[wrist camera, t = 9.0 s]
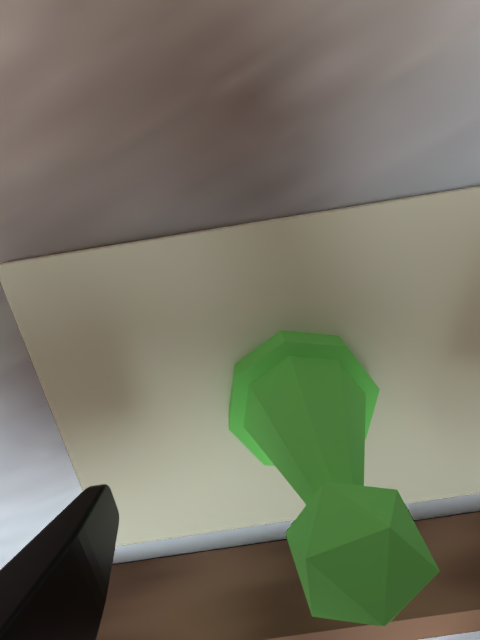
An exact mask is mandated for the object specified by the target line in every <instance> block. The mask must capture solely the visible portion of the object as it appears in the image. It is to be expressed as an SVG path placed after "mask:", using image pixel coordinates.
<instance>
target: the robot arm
mask: <svg viewBox="0 0 480 640" xmlns="http://www.w3.org/2000/svg"><path fill="white" fill-rule="evenodd" d="M118 527H119V511H118V508H117V505H116V503H115V500H114V497H113V494H112V491H111V489H110V487H109V486H108V485H107V484H101V485H94V486H90V487H88V488H86V489H85V490H84V491H83V492H82V493H81V494H80V495H79V496H78V497H77V498H76V499H75V500H73V501H72V502H71V503H70V504H69V505H68V506H67V507H66V508H65V509H64V510H63V511H62V512H61V513H60V514H59V515H58V516H57V517H56V518H55V519H54V520H52V521H51V522H50V523H49V524H48V525H47V526H46V527H45V528H44V529H43V530H42V531H41V532H40V533H39V534H38V535H37V536H36V537H35V538H34V539H33V540H31V541H30V542H29V543H28V544H27V545H26V546H25V547H24V548H23V549H22V550H21V551H20V552H19V553H18V554H17V555H16V556H15V557H14V558H13V559H12V560H10V561H9V562H8V563H7V564H6V565H5V566H4V567H3V568H2V569H1V570H0V640H96V638H97V634H98V630H99V627H100V623H101V619H102V615H103V611H104V607H105V603H106V598H107V592H108V587H109V581H110V575H111V569H112V563H113V557H114V551H115V545H116V539H117V533H118Z"/></svg>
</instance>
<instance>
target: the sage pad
mask: <svg viewBox="0 0 480 640" xmlns="http://www.w3.org/2000/svg"><path fill="white" fill-rule="evenodd" d="M0 282H1V285H2V288H3V290H4V293H5V295H6V298H7V300H8V303H9V305H10V308H11V310H12V313H13V315H14V318H15V320H16V323H17V326H18V328H19V331H20V333H21V336H22V338H23V341H24V343H25V346H26V348H27V351H28V353H29V356H30V358H31V361H32V364H33V366H34V369H35V371H36V374H37V376H38V379H39V381H40V384H41V386H42V389H43V391H44V394H45V397H46V399H47V402H48V404H49V407H50V409H51V412H52V414H53V417H54V419H55V422H56V424H57V427H58V429H59V432H60V435H61V437H62V440H63V442H64V445H65V447H66V450H67V452H68V455H69V457H70V460H71V462H72V465H73V467H74V470H75V473H76V475H77V478H78V480H79V483H80V485H81V488H82V490H83V491H84V490H85V489H86V488H88V487H90V486H94V485H101V484H107V485H108V486H109V487H110V489H111V491H112V494H113V497H114V500H115V503H116V505H117V508H118V511H119V527H118V533H117V539H116V545H115V547H116V546H123V545H129V544H136V543H143V542H150V541H157V540H164V539H171V538H177V537H184V536H191V535H198V534H205V533H212V532H219V531H225V530H232V529H239V528H246V527H253V526H260V525H267V524H273V523H280V522H287V521H294V520H295V519H296V518H297V517H298V515H299V514H300V513H301V511H302V510H303V509H304V507H305V506H306V504H305V503H304V501H303V500H302V499H301V498H300V496H299V495H298V494H297V493H296V491H295V490H294V489H293V488H292V486H291V485H290V484H289V483H288V481H287V480H286V479H285V478H284V476H283V475H282V474H281V473H280V471H279V470H278V469H277V468H276V466H267V465H263V464H262V463H261V462H260V461H259V460H258V459H257V458H256V457H255V456H254V455H253V454H252V453H251V452H250V451H249V450H248V448H247V447H246V446H245V445H244V444H243V443H242V442H241V441H240V440H239V439H238V438H237V437H236V436H235V435H234V434H233V433H232V432H231V431H230V430H229V420H228V413H229V405H230V396H231V388H232V379H233V371H234V364H235V363H237V362H238V361H239V360H241V359H242V358H244V357H245V356H246V355H248V354H249V353H250V352H252V351H253V350H254V349H256V348H257V347H258V346H260V345H261V344H263V343H264V342H265V341H267V340H268V339H269V338H271V337H272V336H273V335H275V334H276V333H278V332H279V331H280V330H284V331H295V332H306V333H317V334H328V335H338V336H339V337H340V338H341V339H342V340H343V342H344V343H345V344H346V345H347V347H348V348H349V349H350V351H351V352H352V353H353V355H354V356H355V357H356V359H357V360H358V361H359V363H360V364H361V365H362V366H363V368H364V369H365V370H366V372H367V373H368V374H369V376H370V377H371V378H372V380H373V381H374V382H375V384H376V385H377V386H378V388H379V389H380V391H379V394H378V398H377V401H376V405H375V409H374V412H373V416H372V419H371V423H370V427H369V430H368V434H367V437H366V439H365V459H364V486H370V487H379V488H387V489H396V490H398V492H399V494H400V496H401V497H402V499H403V501H404V503H405V504H410V503H417V502H424V501H431V500H438V499H445V498H452V497H458V496H465V495H472V494H479V493H480V186H475V187H469V188H463V189H457V190H451V191H444V192H438V193H432V194H426V195H420V196H413V197H407V198H401V199H395V200H389V201H382V202H376V203H370V204H364V205H358V206H351V207H345V208H339V209H333V210H327V211H321V212H314V213H308V214H302V215H296V216H290V217H283V218H277V219H271V220H265V221H259V222H252V223H246V224H240V225H234V226H228V227H221V228H215V229H209V230H203V231H197V232H190V233H184V234H178V235H172V236H166V237H159V238H153V239H147V240H141V241H135V242H128V243H122V244H116V245H110V246H104V247H97V248H91V249H85V250H79V251H73V252H66V253H60V254H54V255H48V256H42V257H35V258H29V259H23V260H17V261H11V262H5V263H2V264H0Z"/></svg>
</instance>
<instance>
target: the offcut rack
mask: <svg viewBox="0 0 480 640" xmlns="http://www.w3.org/2000/svg"><path fill="white" fill-rule="evenodd" d="M414 522H415V524H416V526H417V528H418V530H419V532H420V534H421V536H422V538H423V540H424V542H425V544H426V545H427V547H428V549H429V551H430V553H431V555H432V557H433V559H434V561H435V563H436V565H437V567H438V568H439V570H440V572H439V573H438V574H437V575H436V576H435V577H434V578H433V579H432V580H431V581H430V582H429V583H428V584H427V585H426V586H425V587H424V588H423V589H422V590H421V591H420V592H419V593H418V594H417V595H416V596H415V597H414V598H413V599H412V600H411V601H410V602H409V603H408V604H407V605H406V606H405V607H404V608H403V610H402V611H401V612H400V613H399V614H398V615H397V616H396V617H395V618H394V619H393V620H392V621H391V622H390V623H388V624H387V625H385V626H384V627H383V626H376V625H369V624H361V623H354V622H347V621H340V620H333V619H325V618H318V617H312V615H311V612H310V609H309V606H308V603H307V600H306V596H305V593H304V590H303V587H302V584H301V581H300V578H299V575H298V572H297V568H296V565H295V562H294V559H293V556H292V553H291V550H290V547H289V544H288V540H282V541H275V542H268V543H261V544H254V545H248V546H241V547H234V548H227V549H220V550H213V551H206V552H199V553H192V554H185V555H179V556H172V557H165V558H158V559H151V560H144V561H137V562H130V563H123V564H117V565H112V569H111V575H110V581H109V587H108V592H107V598H106V603H105V607H104V611H103V615H102V619H101V623H100V627H99V630H98V634H97V638H96V640H417V639H425V638H432V637H439V636H446V635H453V634H460V633H468V632H475V631H480V512H475V513H468V514H461V515H455V516H448V517H441V518H434V519H427V520H420V521H414Z"/></svg>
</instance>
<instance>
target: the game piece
mask: <svg viewBox="0 0 480 640" xmlns="http://www.w3.org/2000/svg"><path fill="white" fill-rule="evenodd" d="M379 391H380V389H379V388H378V386H377V385H376V384H375V382H374V381H373V380H372V378H371V377H370V376H369V374H368V373H367V372H366V370H365V369H364V368H363V366H362V365H361V364H360V363H359V361H358V360H357V359H356V357H355V356H354V355H353V353H352V352H351V351H350V349H349V348H348V347H347V345H346V344H345V343H344V342H343V340H342V339H341V338H340V337H339V336H338V335H328V334H317V333H306V332H295V331H284V330H280V331H279V332H278V333H276V334H275V335H273V336H272V337H271V338H269V339H268V340H267V341H265V342H264V343H263V344H261V345H260V346H258V347H257V348H256V349H254V350H253V351H252V352H250V353H249V354H248V355H246V356H245V357H244V358H242V359H241V360H239V361H238V362H237V363H235V364H234V371H233V379H232V388H231V396H230V405H229V413H228V420H229V430H230V431H231V432H232V433H233V434H234V435H235V436H236V437H237V438H238V439H239V440H240V441H241V442H242V443H243V444H244V445H245V446H246V447H247V448H248V450H249V451H250V452H251V453H252V454H253V455H254V456H255V457H256V458H257V459H258V460H259V461H260V462H261V463H262V464H263V465H267V466H276V468H277V469H278V470H279V471H280V473H281V474H282V475H283V476H284V478H285V479H286V480H287V481H288V483H289V484H290V485H291V486H292V488H293V489H294V490H295V491H296V493H297V494H298V495H299V496H300V498H301V499H302V500H303V501H304V503H305V504H306V506H305V507H304V509H303V510H302V511H301V513H300V514H299V515H298V517H297V518H296V519H295V521H294V522H293V523H292V525H291V526H290V527H289V529H288V530H287V531H286V533H285V534H286V537H287V540H288V544H289V547H290V550H291V553H292V556H293V559H294V562H295V565H296V568H297V572H298V575H299V578H300V581H301V584H302V587H303V590H304V593H305V596H306V600H307V603H308V606H309V609H310V612H311V615H312V617H318V618H325V619H333V620H340V621H347V622H354V623H361V624H369V625H376V626H383V627H384V626H385V625H387V624H388V623H390V622H391V621H392V620H393V619H394V618H395V617H396V616H397V615H398V614H399V613H400V612H401V611H402V610H403V608H404V607H405V606H406V605H407V604H408V603H409V602H410V601H411V600H412V599H413V598H414V597H415V596H416V595H417V594H418V593H419V592H420V591H421V590H422V589H423V588H424V587H425V586H426V585H427V584H428V583H429V582H430V581H431V580H432V579H433V578H434V577H435V576H436V575H437V574H438V573H439V572H440V570H439V568H438V567H437V565H436V563H435V561H434V559H433V557H432V555H431V553H430V551H429V549H428V547H427V545H426V544H425V542H424V540H423V538H422V536H421V534H420V532H419V530H418V528H417V526H416V524H415V522H414V521H413V519H412V517H411V515H410V513H409V511H408V509H407V507H406V505H405V503H404V501H403V499H402V497H401V496H400V494H399V492H398V490H396V489H387V488H379V487H370V486H364V459H365V439H366V437H367V434H368V430H369V427H370V423H371V419H372V416H373V412H374V409H375V405H376V401H377V398H378V394H379Z"/></svg>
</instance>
